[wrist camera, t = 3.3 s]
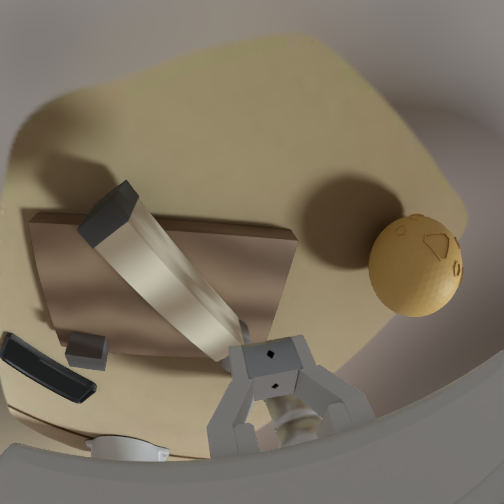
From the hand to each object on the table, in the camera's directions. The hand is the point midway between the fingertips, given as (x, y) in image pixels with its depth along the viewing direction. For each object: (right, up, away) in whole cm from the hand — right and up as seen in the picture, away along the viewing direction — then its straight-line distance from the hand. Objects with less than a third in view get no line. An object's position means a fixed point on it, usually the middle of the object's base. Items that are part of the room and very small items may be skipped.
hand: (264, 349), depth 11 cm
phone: (-30, -12, +19) cm, 37 cm away
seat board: (-10, 0, +15) cm, 18 cm away
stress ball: (+14, +5, +18) cm, 24 cm away
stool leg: (-6, +2, +13) cm, 14 cm away
